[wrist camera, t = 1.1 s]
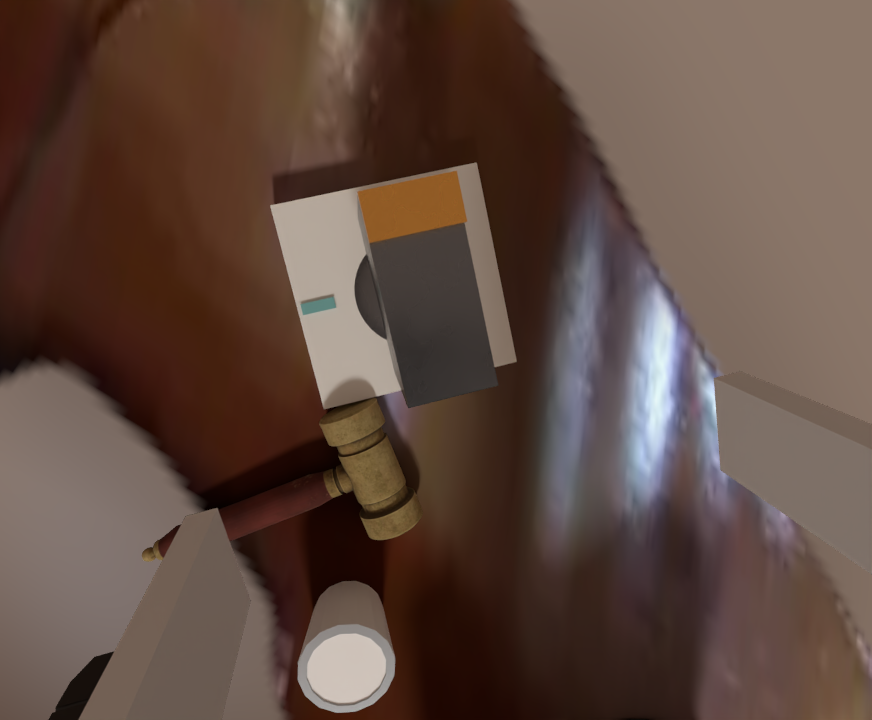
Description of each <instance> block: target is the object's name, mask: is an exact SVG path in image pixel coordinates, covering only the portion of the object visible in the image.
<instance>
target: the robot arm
mask: <svg viewBox="0 0 872 720" xmlns="http://www.w3.org/2000/svg"><path fill="white" fill-rule="evenodd" d="M714 386H715V400H716V413H717V427H718V441H719V455H720V469H721V471H723V472H724V473H726V474H727V475H728V476H730V477H731V478H733V479H734V480H736V481H737V482H739V483H740V484H742V485H743V486H744V487H746V488H747V489H749V490H750V491H752V492H753V493H755V494H756V495H757V496H759V497H760V498H762V499H763V500H765V501H766V502H768V503H769V504H771V505H772V506H773V507H775V508H776V509H778V510H779V511H781V512H782V513H784V514H785V515H786V516H788V517H789V518H791V519H792V520H794V521H795V522H797V523H798V524H800V525H801V526H802V527H804V528H805V529H807V530H808V531H810V532H811V533H813V534H814V535H815V536H817V537H819V538H820V539H821V540H823V541H824V542H826V543H827V544H829V545H830V546H831V547H833V548H834V549H836V550H837V551H839V552H840V553H842V554H843V555H845V556H846V557H848V558H849V559H851V560H852V561H853V562H855V563H856V564H858V565H859V566H861V567H862V568H863V569H865V570H867V571H868V572H869V573H871V574H872V424H870V423H867V422H865V421H863V420H860V419H858V418H855V417H853V416H850V415H848V414H845V413H843V412H840V411H838V410H835V409H833V408H830V407H828V406H825V405H823V404H820V403H818V402H816V401H813V400H811V399H808V398H806V397H803V396H800V395H798V394H796V393H793V392H791V391H788V390H786V389H783V388H781V387H778V386H776V385H773V384H771V383H769V382H766V381H764V380H761V379H759V378H756V377H753V376H751V375H749V374H746V373H744V372H741V371H739V372H736V373H732V374H728V375H724V376H720V377H716V378H714ZM250 602H251V600H250V597H249V594H248V591H247V589H246V586H245V583H244V580H243V577H242V575H241V572H240V569H239V566H238V564H237V561H236V558H235V555H234V553H233V550H232V547H231V544H230V541H229V539H228V536H227V533H226V530H225V528H224V525H223V522H222V519H221V516H220V514H219V511H218V508H215V509H211V510H207V511H203V512H199V513H196V514H192V515H188V516H185V518H184V521H183V522H182V524H181V526H180V528H179V530H178V532H177V534H176V535H175V537H174V539H173V541H172V543H171V545H170V547H169V549H168V551H167V553H166V554H165V556H164V558H163V560H162V562H161V564H160V566H159V568H158V570H157V572H156V573H155V575H154V577H153V579H152V581H151V583H150V585H149V587H148V589H147V591H146V592H145V594H144V596H143V598H142V600H141V602H140V604H139V606H138V608H137V609H136V611H135V613H134V615H133V617H132V619H131V621H130V623H129V625H128V627H127V629H126V630H125V633H124V634H123V636H122V638H121V640H120V642H119V644H118V646H117V648H116V649H115V651H114V652H110V653H107V654H103V655H100V656H96V657H94V658H93V659H92V660H91V661H90V662H89V663H88V664H87V665H86V666H85V667H84V669H83V670H82V671H81V672H80V673H79V674H78V675H77V676H76V677H75V678H74V679H73V680H72V681H71V682H70V684H69V685H68V687H67V689H66V691H65V692H64V694H63V696H62V697H61V699H60V701H59V702H58V704H57V706H56V712H54V713H52V714H51V716H50V718H49V720H222V716H223V712H224V708H225V704H226V700H227V696H228V692H229V688H230V683H231V680H232V675H233V671H234V667H235V663H236V659H237V655H238V651H239V647H240V643H241V639H242V635H243V630H244V626H245V622H246V618H247V614H248V610H249V606H250ZM630 720H647V719H630Z"/></svg>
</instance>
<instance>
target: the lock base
mask: <svg viewBox="0 0 872 720" xmlns="http://www.w3.org/2000/svg"><path fill="white" fill-rule="evenodd" d="M452 171H457V174H458V179H459V184H460V189H461V193H462V198H463V203H464V208H465V213H466V218H467V222H465V227H466V232H467V237H468V242H469V247H470V252H471V256H472V261H473V266H474V271H475V276H476V280H477V285H478V290H479V295H480V300H481V304H482V309H483V314H484V319H485V324H486V328H487V333H488V338H489V343H490V348H491V352H492V357H493V362H494V367H498V366H502V365H506V364H510V363H514V362H517V360H516V355H515V350H514V345H513V340H512V335H511V330H510V325H509V320H508V315H507V310H506V305H505V300H504V295H503V290H502V285H501V281H500V276H499V271H498V266H497V261H496V256H495V251H494V246H493V241H492V236H491V231H490V226H489V221H488V216H487V211H486V206H485V201H484V196H483V191H482V186H481V181H480V176H479V171H478V166H477V162H476V163H471V164H467V165H462V166H457V167H452V168H447V169H443V170H438V171H433V172H428V173H423V174H419V175H414V176H409V177H404V178H400V179H395V180H390V181H385V182H380V183H376V184H371V185H366V186H361V187H357V188H352V189H347V190H342V191H337V192H333V193H328V194H323V195H318V196H314V197H309V198H304V199H299V200H294V201H290V202H285V203H280V204H275V205H271V206H270V207H271V211H272V214H273V218H274V222H275V226H276V230H277V233H278V237H279V241H280V245H281V248H282V252H283V256H284V260H285V264H286V267H287V271H288V275H289V279H290V283H291V286H292V290H293V294H294V298H295V301H296V305H297V309H298V313H299V317H300V320H301V324H302V328H303V332H304V336H305V339H306V343H307V347H308V351H309V355H310V358H311V362H312V366H313V370H314V373H315V377H316V381H317V385H318V389H319V392H320V396H321V400H322V404H323V408H324V409H328V408H332V407H336V406H340V405H344V404H348V403H352V402H356V401H360V400H364V399H368V398H372V397H376V396H380V395H384V394H389V393H393V392H397V391H401V388H400V385H399V383H398V380H397V378H396V375H395V372H394V368H393V363H392V359H391V355H390V351H389V347H388V343H387V340H386V339H384V338H382V337H380V336H379V335H378V334H376V333H375V332H374V331H373V330H372V329H371V328H370V327H369V326H368V325H367V324H366V323H365V321H364V319H363V318H362V316H361V314H360V312H359V310H358V307H357V304H356V300H355V291H354V286H355V278H356V273H357V270H358V268H359V265H360V263H361V261H362V259H363V258H364V256H365V255H366V251H365V246H364V242H363V238H362V234H361V230H360V226H359V221H358V206H357V191H362V190H367V189H371V188H376V187H381V186H386V185H390V184H395V183H400V182H405V181H409V180H414V179H419V178H424V177H428V176H433V175H438V174H443V173H448V172H452Z"/></svg>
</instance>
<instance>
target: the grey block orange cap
mask: <svg viewBox="0 0 872 720" xmlns="http://www.w3.org/2000/svg"><path fill="white" fill-rule="evenodd" d="M357 206H358V221H359V226H360V230H361V234H362V238H363V242H364V246H365V251H366V255H365V256H364V258H363V259H362V261H361V263H360V265H359V268H358V270H357V273H356V278H355V286H354V291H355V300H356V304H357V307H358V310H359V312H360V314H361V316H362V318H363V319H364V321H365V323H366V324H367V325H368V326H369V327H370V328H371V329H372V330H373V331H374V332H375V333H376V334H378V335H379V336H380V337H382V338H384V339H386V340H387V343H388V347H389V351H390V355H391V359H392V363H393V368H394V372H395V375H396V378H397V380H398V383H399V385H400V388H401V391H402V393H403V396H404V398H405V401H406V404H407V406H408V408H411V407H415V406H419V405H423V404H427V403H431V402H435V401H439V400H443V399H447V398H451V397H455V396H459V395H463V394H467V393H471V392H475V391H479V390H483V389H487V388H491V387H495V386H498V381H497V376H496V372H495V367H494V362H493V357H492V352H491V348H490V343H489V338H488V333H487V328H486V324H485V319H484V314H483V309H482V304H481V300H480V295H479V290H478V285H477V280H476V276H475V271H474V266H473V261H472V256H471V252H470V247H469V242H468V237H467V232H466V227H465V222H467V218H466V213H465V208H464V203H463V198H462V193H461V189H460V184H459V179H458V174H457V171H452V172H448V173H443V174H438V175H433V176H428V177H424V178H419V179H414V180H409V181H405V182H400V183H395V184H390V185H386V186H381V187H376V188H371V189H367V190H362V191H357Z"/></svg>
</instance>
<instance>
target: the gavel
mask: <svg viewBox="0 0 872 720" xmlns="http://www.w3.org/2000/svg"><path fill="white" fill-rule="evenodd" d="M384 423H385V419H384V416H383V414H382V411H381V409H380V406H379V404H378V402H377V399H376V398H373V397H372V398H368V399H364V400H360V401H356V402H352V403H348V404H344V405H342V406H339V407H337V408H335V409H333V410H332V411H330V412H328V413H327V414H326V415H324V416H323V417H322V419H321V420H320V422H319V424H320V426H321V429H322V431H323V433H324V435H325V438H326V440H327V442H328V444H329V446H336V447H337V449H338V451H339V453H338V457H339V459H340V461H341V465H338V466H337V467H336V469H335V468H332V469H329V470H327V471H324V472H319V473H314V474H309V475H306V476H304V477H301V478H299V479H296V480H294V481H291V482H288V483H286V484H283V485H281V486H278V487H276V488H273V489H270V490H268V491H265V492H263V493H260V494H258V495H255V496H253V497H250V498H247V499H245V500H242V501H240V502H237V503H235V504H232V505H229V506H227V507H224V508H222V509H219V510H218V511H219V514H220V516H221V519H222V522H223V525H224V528H225V530H226V533H227V536H228V539H229V541H232V540H234V539H237V538H239V537H242V536H245V535H247V534H250V533H252V532H255V531H257V530H260V529H263V528H265V527H268V526H270V525H273V524H275V523H278V522H280V521H283V520H286V519H288V518H291V517H293V516H296V515H298V514H301V513H303V512H306V511H309V510H311V509H314V508H316V507H319V506H321V505H322V504H324V503H326V502H327V501H329V500H331V499H332V498H334V497H337V496H339V495H342V494H343V492H345V493H348V492H351V491H354V493H355V496H356V498H357V500H358V502H359V503H360V504H362V506H363V508H362V509H361V511H360V518H361V520H362V522H363V524H364V527H365V529H366V531H367V534H368V536H369V537H370V538H371V539H374V540H386V539H391V538H394V537H397V536H399V535H401V534H403V533H405V532H407V531H408V530H410V529H411V528H412V527H414V526H415V525H416V524H417V522H418V521H419V520H420V518H421V517H422V515H423V510H422V508H421V505H420V503H419V501H418V498H417V496H416V493H415V491H414V489H413V488H410V487H406V485H405V483H406V480H405V477H404V475H403V473H402V470H401V468H400V465H399V463H398V461H397V458H396V456H395V453H394V451H393V449H392V446H391V444H390V441H389V439H388V437H387V434H386V433H384V432H383V430H382V428H381V426H382V425H383V424H384ZM180 526H181V525H178V526H176V527H175V528H174V529H173V530H171V531H170V532H169V533H168V534H166V535H165V536H164V537H163V538H162V539H160V540H158V541H156V542H155V544H154V546H153V548H152V547H150V548H147V549H145V550H144V551H143V553H142V557H143V560H144V561H152V560H154V559H155V558H157V559H159V560H163V558H164V556H165V554H166V553H167V551H168V549H169V547H170V545H171V543H172V541H173V539H174V537H175V535H176V534H177V532H178V530H179V528H180Z"/></svg>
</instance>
